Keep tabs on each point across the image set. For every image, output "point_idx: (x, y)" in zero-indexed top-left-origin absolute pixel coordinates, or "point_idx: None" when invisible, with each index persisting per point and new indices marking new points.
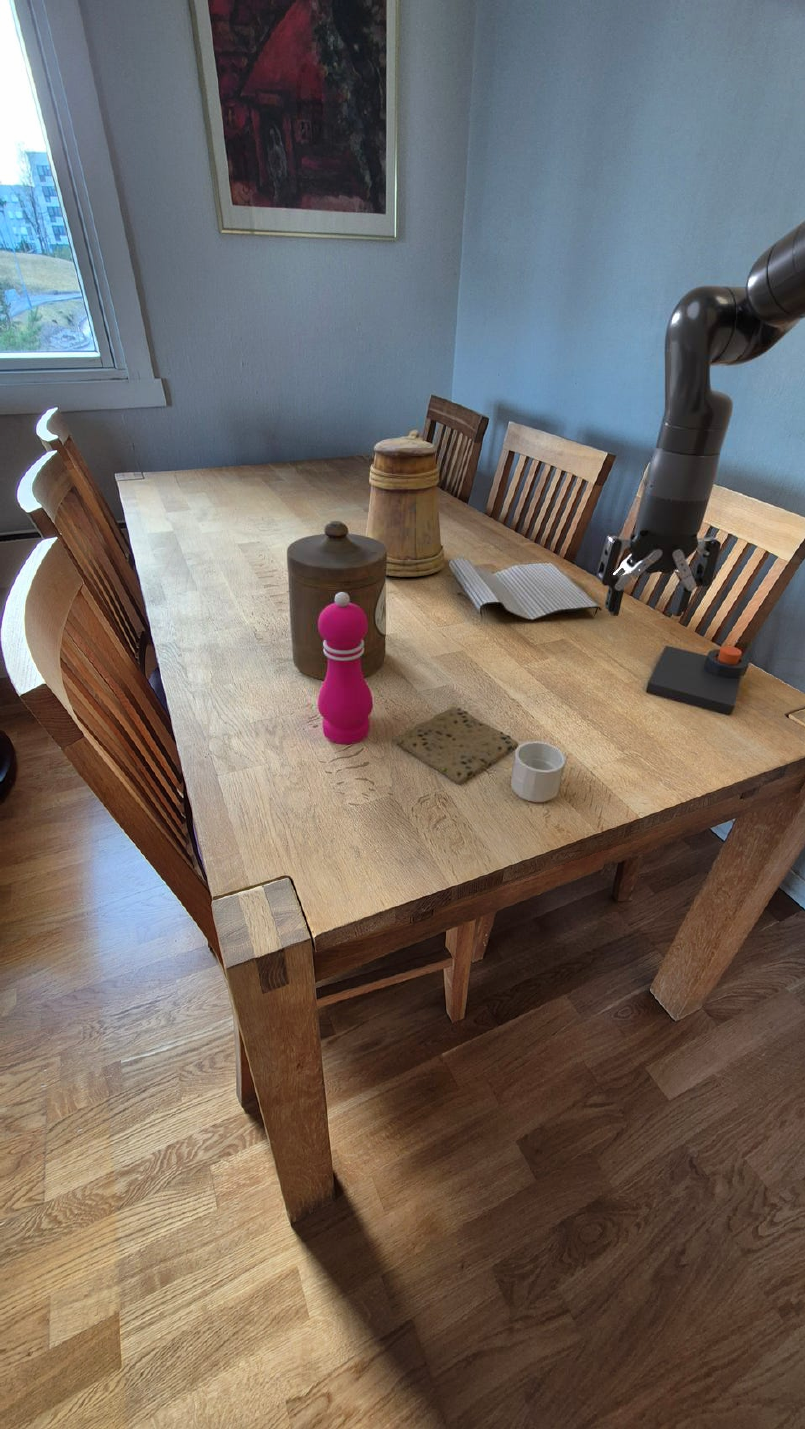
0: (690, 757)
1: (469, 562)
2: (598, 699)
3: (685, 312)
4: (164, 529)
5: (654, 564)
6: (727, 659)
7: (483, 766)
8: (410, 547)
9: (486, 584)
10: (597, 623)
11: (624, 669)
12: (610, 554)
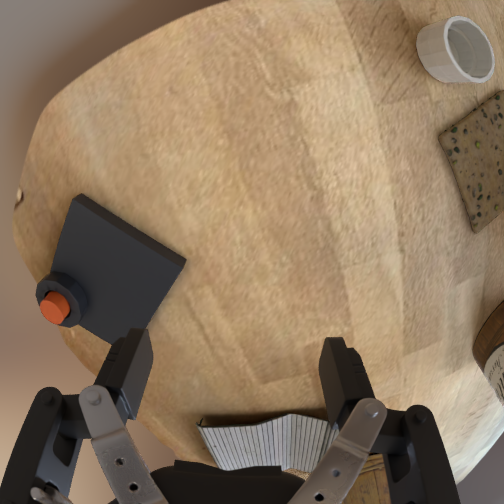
0: (183, 79)
1: None
2: (273, 243)
3: None
4: (482, 450)
5: (258, 499)
6: (58, 298)
7: (483, 105)
8: (380, 478)
9: None
10: (202, 407)
11: (199, 318)
12: (455, 495)
